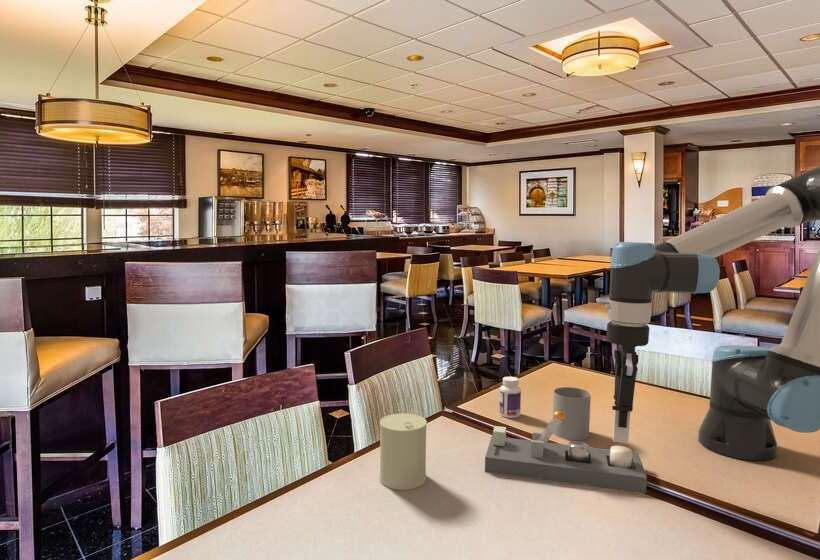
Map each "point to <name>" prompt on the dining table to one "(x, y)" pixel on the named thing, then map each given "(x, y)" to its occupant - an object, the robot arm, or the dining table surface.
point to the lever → (552, 426)
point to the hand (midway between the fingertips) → (620, 440)
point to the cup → (572, 412)
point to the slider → (499, 436)
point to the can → (402, 451)
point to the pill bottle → (510, 398)
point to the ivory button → (620, 457)
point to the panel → (563, 464)
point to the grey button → (578, 452)
